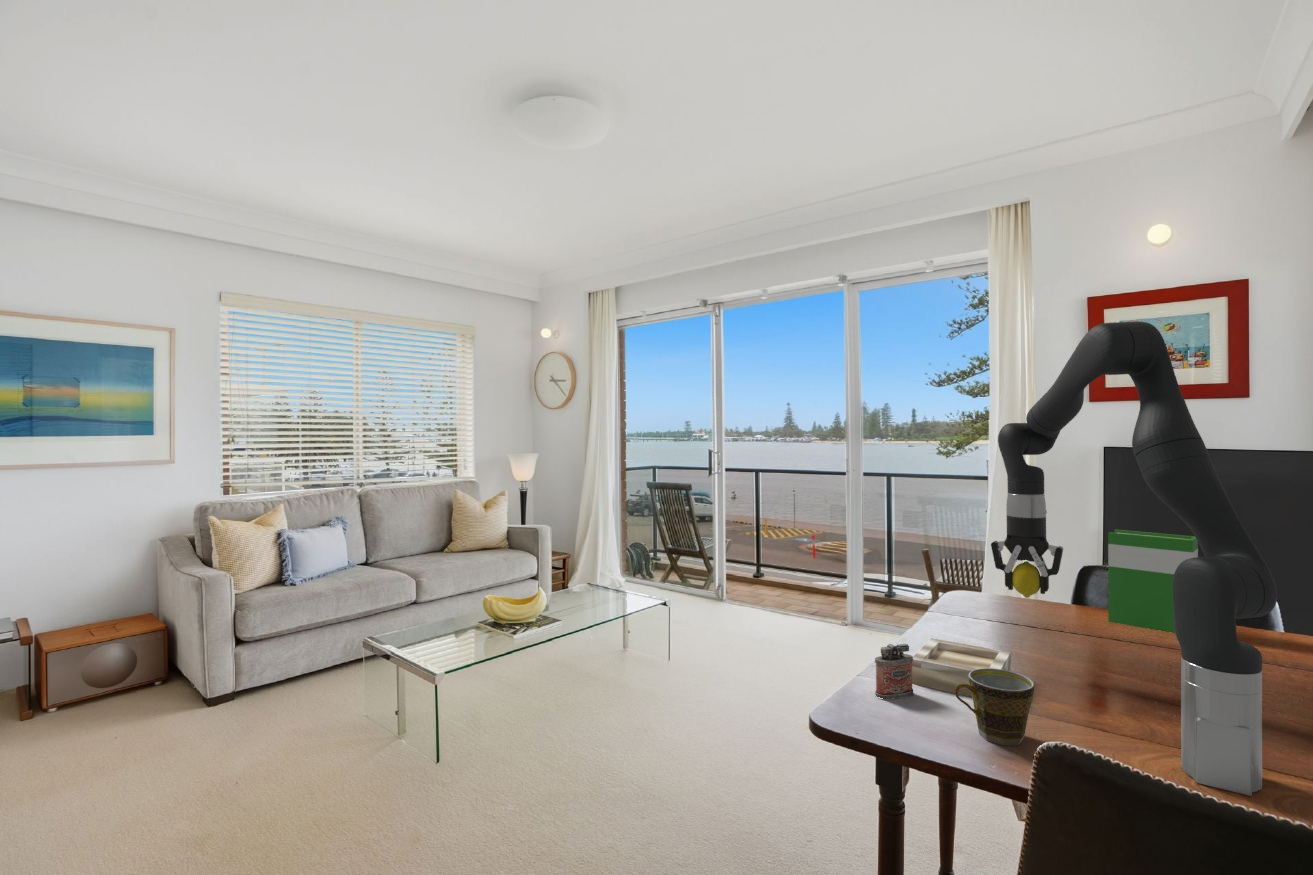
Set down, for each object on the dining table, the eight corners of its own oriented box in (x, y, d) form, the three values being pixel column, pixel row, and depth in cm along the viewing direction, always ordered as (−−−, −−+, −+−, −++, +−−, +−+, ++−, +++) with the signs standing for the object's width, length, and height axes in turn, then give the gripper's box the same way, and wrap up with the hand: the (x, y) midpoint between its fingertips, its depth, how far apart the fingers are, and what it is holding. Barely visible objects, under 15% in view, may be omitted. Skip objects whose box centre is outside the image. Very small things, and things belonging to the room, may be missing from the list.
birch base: (997, 704, 125) (996, 675, 125) (911, 685, 135) (911, 658, 135) (1010, 677, 138) (1010, 652, 138) (931, 662, 148) (931, 638, 148)
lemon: (1045, 601, 139) (1045, 564, 139) (1017, 600, 140) (1016, 563, 140) (1035, 595, 144) (1035, 559, 144) (1008, 594, 145) (1008, 558, 145)
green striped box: (1108, 621, 174) (1108, 532, 174) (1115, 616, 180) (1115, 529, 179) (1192, 636, 162) (1192, 540, 161) (1197, 630, 167) (1197, 536, 166)
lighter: (881, 701, 127) (881, 650, 126) (871, 694, 130) (871, 644, 130) (917, 695, 129) (916, 645, 129) (906, 689, 132) (906, 640, 132)
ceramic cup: (1012, 722, 117) (1012, 667, 116) (1048, 750, 107) (1047, 690, 106) (941, 724, 116) (941, 669, 116) (970, 752, 106) (969, 692, 106)
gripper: (986, 513, 143) (987, 590, 143) (1062, 518, 135) (1063, 599, 135) (992, 510, 149) (993, 583, 149) (1066, 514, 141) (1067, 592, 141)
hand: (1026, 590), depth 142 cm, fingers closed on lemon, 5 cm apart
